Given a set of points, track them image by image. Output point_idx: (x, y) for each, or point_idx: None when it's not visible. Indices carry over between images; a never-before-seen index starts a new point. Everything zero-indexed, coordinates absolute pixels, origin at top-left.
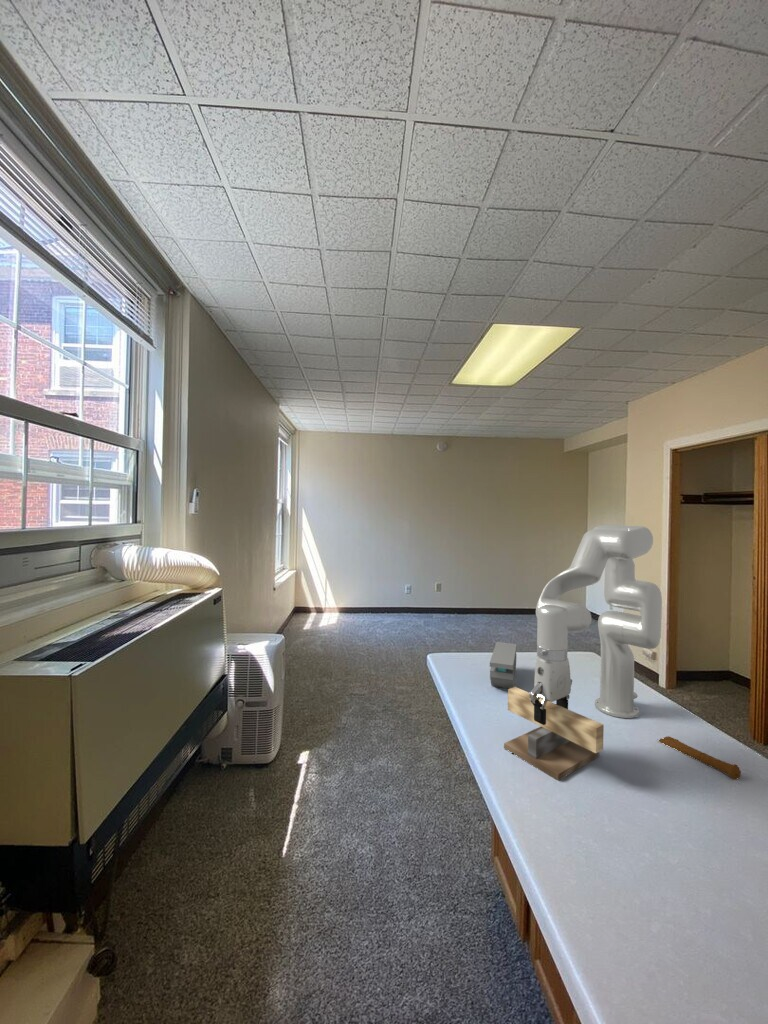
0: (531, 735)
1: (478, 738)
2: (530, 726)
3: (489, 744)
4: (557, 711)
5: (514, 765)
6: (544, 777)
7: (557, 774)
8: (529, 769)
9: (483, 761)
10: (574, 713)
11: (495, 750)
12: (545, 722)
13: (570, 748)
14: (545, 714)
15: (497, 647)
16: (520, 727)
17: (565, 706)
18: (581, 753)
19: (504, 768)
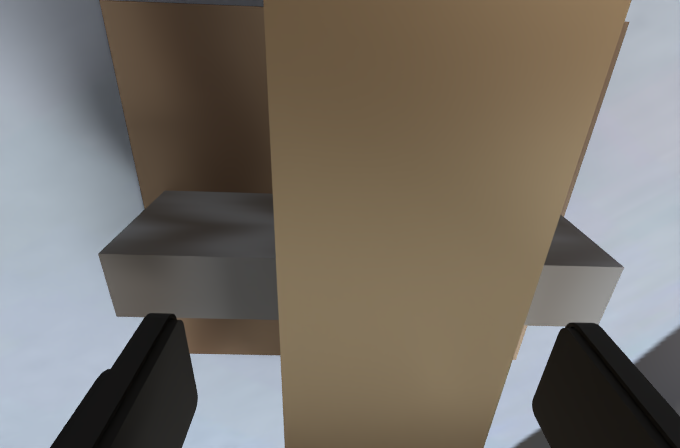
0: (589, 311)
1: (506, 424)
2: (226, 377)
3: (516, 384)
4: (502, 388)
5: (607, 244)
6: (617, 94)
7: (627, 26)
8: (593, 184)
9: (664, 330)
10: (334, 190)
11: (543, 350)
12: (596, 336)
13: (265, 144)
14: (668, 421)
15: None
16: (276, 393)
17: (141, 403)
18: (255, 63)
19: (663, 255)
